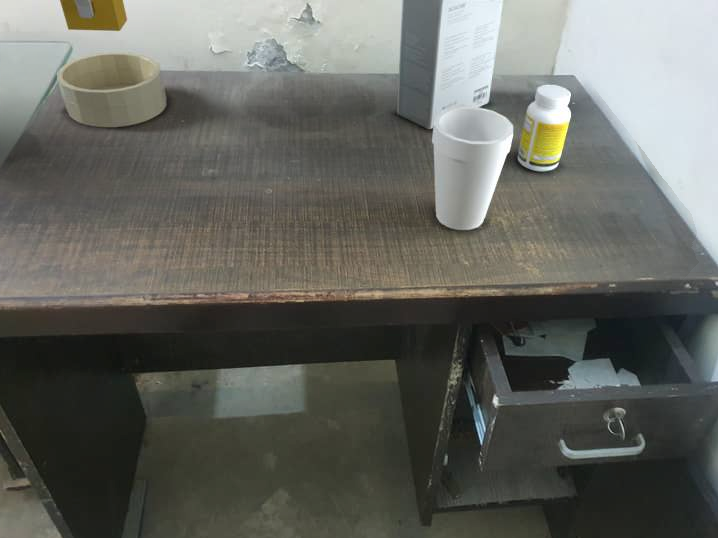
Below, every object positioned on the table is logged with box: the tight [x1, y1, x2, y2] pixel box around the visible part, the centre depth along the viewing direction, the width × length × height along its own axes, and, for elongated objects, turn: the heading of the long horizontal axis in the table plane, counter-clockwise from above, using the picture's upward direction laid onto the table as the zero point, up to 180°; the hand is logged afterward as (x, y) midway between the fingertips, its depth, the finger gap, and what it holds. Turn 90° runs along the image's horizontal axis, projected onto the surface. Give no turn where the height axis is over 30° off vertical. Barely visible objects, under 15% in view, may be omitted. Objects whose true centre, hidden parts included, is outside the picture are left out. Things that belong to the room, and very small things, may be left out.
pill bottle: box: [517, 84, 572, 172], centre depth 91 cm, size 6×6×11 cm
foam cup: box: [431, 107, 514, 231], centre depth 79 cm, size 10×9×13 cm
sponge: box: [59, 0, 128, 32], centre depth 89 cm, size 7×4×6 cm, turn 95°
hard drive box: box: [396, 0, 504, 130], centre depth 99 cm, size 16×8×20 cm, turn 136°
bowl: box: [56, 51, 168, 128], centre depth 98 cm, size 15×15×6 cm
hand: (93, 9), depth 89 cm, fingers closed on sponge, 4 cm apart
